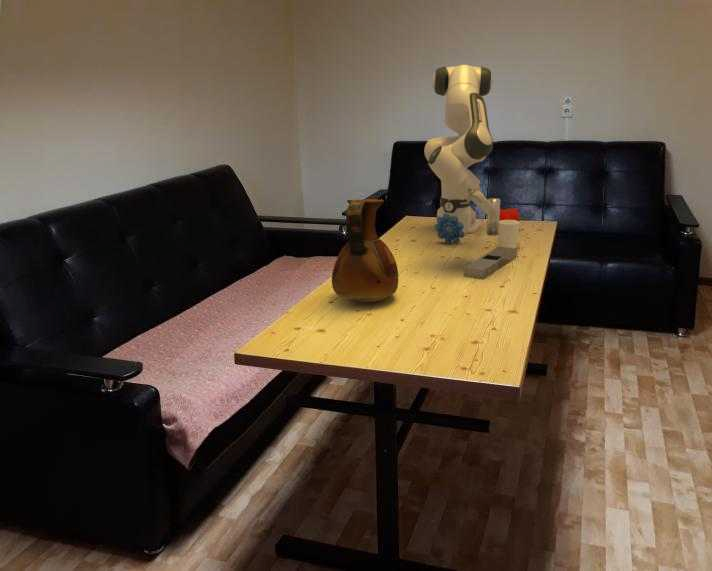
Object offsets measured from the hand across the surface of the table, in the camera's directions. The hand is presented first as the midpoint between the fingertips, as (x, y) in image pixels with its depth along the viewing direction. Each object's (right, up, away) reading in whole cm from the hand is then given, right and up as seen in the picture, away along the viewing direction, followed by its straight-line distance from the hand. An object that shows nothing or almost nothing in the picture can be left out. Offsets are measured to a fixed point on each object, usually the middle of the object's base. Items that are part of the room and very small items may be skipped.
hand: (495, 215), depth 231 cm
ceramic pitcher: (-44, -28, -26) cm, 58 cm away
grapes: (-11, -8, +36) cm, 39 cm away
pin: (-1, -6, +2) cm, 6 cm away
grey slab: (0, -17, +5) cm, 18 cm away
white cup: (+11, -9, +29) cm, 32 cm away
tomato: (+16, 0, +58) cm, 60 cm away
